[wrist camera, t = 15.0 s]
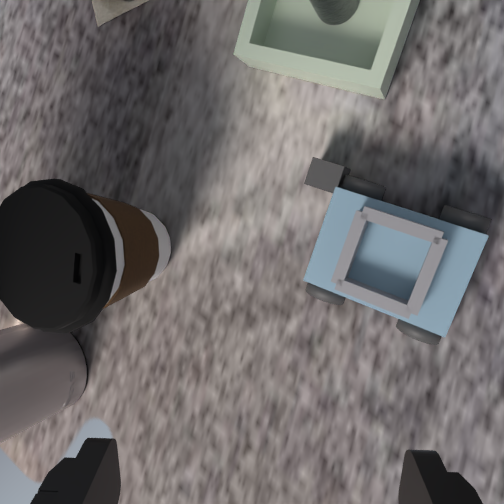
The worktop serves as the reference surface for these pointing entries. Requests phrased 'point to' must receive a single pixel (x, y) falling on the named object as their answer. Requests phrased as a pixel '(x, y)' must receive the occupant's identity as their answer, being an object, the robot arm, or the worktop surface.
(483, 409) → the worktop surface
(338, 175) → the block
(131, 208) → the coffee cup
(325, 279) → the trolley
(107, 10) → the condiment
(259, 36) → the tray
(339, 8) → the pin
